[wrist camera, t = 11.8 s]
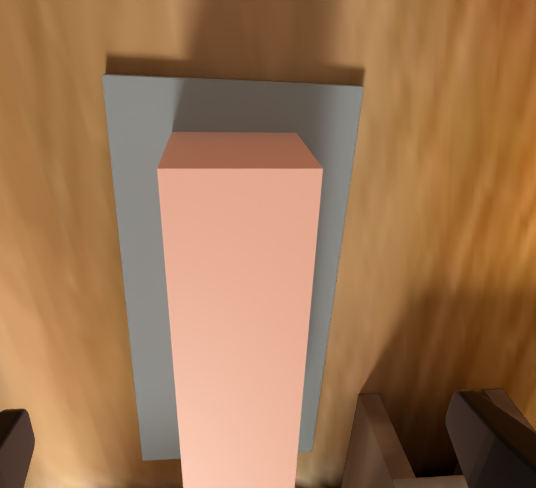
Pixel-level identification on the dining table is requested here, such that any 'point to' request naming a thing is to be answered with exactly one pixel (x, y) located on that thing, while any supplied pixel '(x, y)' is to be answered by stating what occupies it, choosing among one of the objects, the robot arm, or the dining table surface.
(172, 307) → the block
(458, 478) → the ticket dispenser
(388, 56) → the dining table surface
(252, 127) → the slate mat
